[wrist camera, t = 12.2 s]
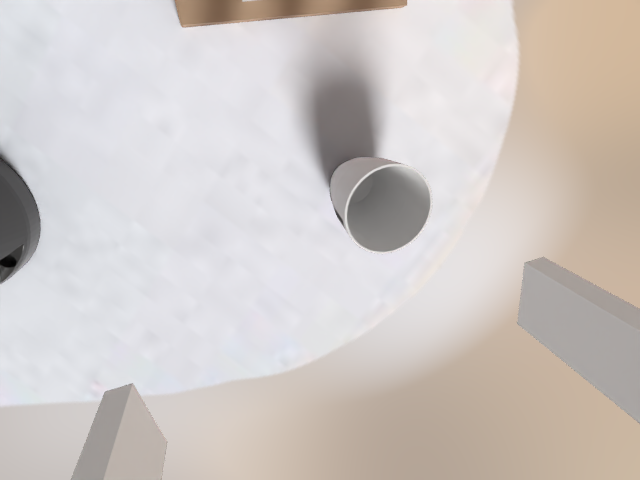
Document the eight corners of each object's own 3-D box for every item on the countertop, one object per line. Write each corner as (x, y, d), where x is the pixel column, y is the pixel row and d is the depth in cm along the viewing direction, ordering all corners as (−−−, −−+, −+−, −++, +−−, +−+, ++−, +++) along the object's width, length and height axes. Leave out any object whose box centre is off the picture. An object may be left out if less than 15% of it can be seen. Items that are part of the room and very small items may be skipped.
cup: (302, 190, 37) (325, 223, 28) (349, 129, 36) (389, 143, 27) (354, 229, 41) (390, 268, 32) (399, 174, 39) (449, 200, 30)
